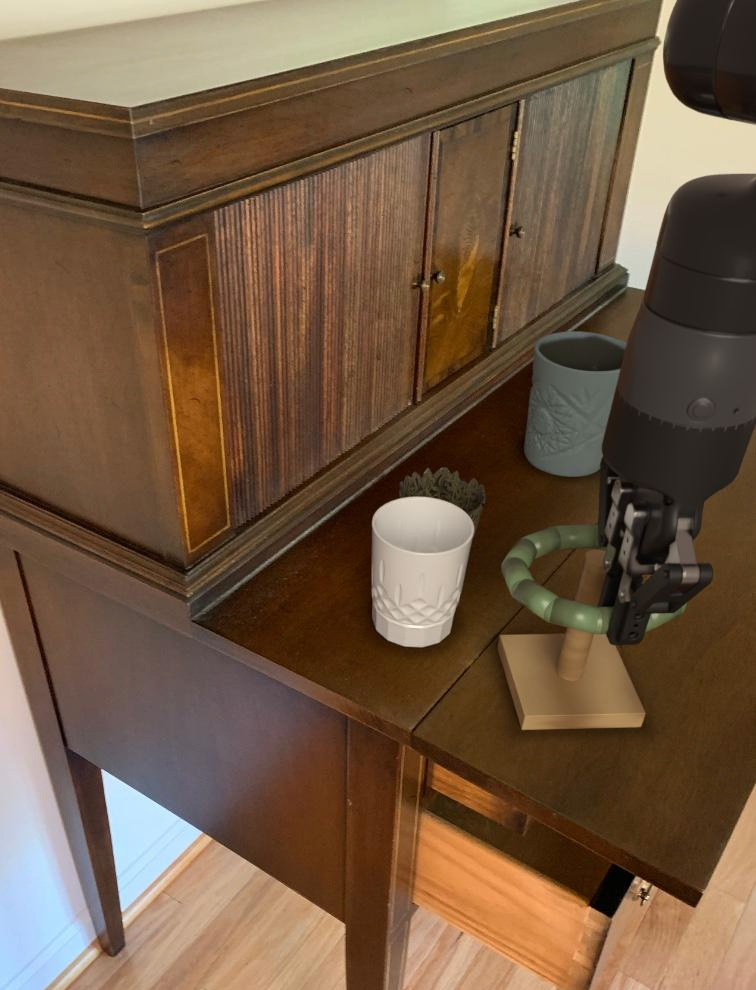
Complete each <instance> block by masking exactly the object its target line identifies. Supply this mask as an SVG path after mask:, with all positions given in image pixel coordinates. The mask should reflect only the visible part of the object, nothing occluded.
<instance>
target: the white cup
mask: <svg viewBox="0 0 756 990" xmlns="http://www.w3.org/2000/svg"><path fill="white" fill-rule="evenodd" d="M371 519H372V520H371V557H370V559H371V562H370V564H371V565H370V568H371V569H370V575H371V585H370V586H371V587H370V589H371V598H372V600H371V601H372V604H371V619H372V622H373V625H374V628H375V631H376V632H377V633H379V635H380V636H382V637H383V638H384V639H386V640H387V641H388V642H391V643H394V644H396V645H399V646H402V647H405V648H406V647H407V648H426V647H430V646H434V645H436V644H439V643H441V642H442V641H443V640H444V639H445V638H447V637H448V636H449V635H450V634H451V630H452V627H453V623H454V620H455V614H456V613H455V612H456V609H457V607H458V605H459V603H460V597H461V594H462V591H463V586H464V581H465V577H466V571H467V567H468V562H469V558H470V553H471V548H472V543H473V540H474V538H473V535H474V524H473V521H472V519H471V518H470V517H469V515H468V514H467V513H466V512H465V511H463V510H462V509H461V508H459V507H458V506H456V505H454V504H452V503H449V502H447V501H444V500H440V499H436V498H430V497H405V498H400V499H399V498H396V499H393V500H391V501H387V502H386V503H384V504H382V505H381V506H380V507H379V508H378V509H377V510H376V511H375V512H374V513H373V516H372V518H371ZM474 536H475V535H474ZM472 539H473V540H472Z"/></svg>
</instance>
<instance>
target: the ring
mask: <svg viewBox="0 0 756 990" xmlns="http://www.w3.org/2000/svg"><path fill="white" fill-rule="evenodd" d="M597 536H598V524H594V523H593V524H589V523H588V524H570V525H568V524H565V525H551V526H548V527H546V528H543V529H541V530H538V531H535V532H533V533H530V534H528V535H525V536H523V537H520V538H518V539H517V540H516V541H515V542H514V544H513V546H512V547H511V548H510V550H509V552H508V553H507V554H506V556H505V558H504V559H503V560H502V562H501V566H500V570H501V574H502V576H503V578H504V581H505V583H506V586H507V589H508V591H509V594H510V596H511V597H512V599H513V600H514V601H515V602H517V603H518V604H519V605H521V606H523V607H524V608H526V609H527V610H528V611H530V612H532V613H533V614H535V615H536V616H538V617H539V618H541V619H542V620H544V621H545V622H547V623H550V624H552V625H553V624H554V625H557V626H560V627H564V628H567V627H568V628H572V629H576V630H580V631H584V632H588V633H592V634H606V633H607V630H608V626H609V621H610V618H611V614H612V611H613V607H614V606H610V607H597V606H593V605H589V604H585V603H581V602H577V601H574V600H573V599H572V600H571V599H568V598H563V597H560V596H558V595H557V594H555V593H554V592H552V591H550V590H549V589H547V588H546V587H544V586H543V585H541V584H539V583H538V582H536V581H535V580H534V578H533V575H532V573H531V571H530V569H529V568H530V567H531V565H532V564H533V562H534V561H535V559H537V558H540V557H544V556H545V555H548V554H550V553H553V552H555V551H560V550H561V551H562V550H563V551H564V550H583V549H584V550H585V549H586V550H587V549H591V550H593V549H599V550H604V551H606V548H600V547H599V545H598V541H597ZM687 605H688V602H687V603H686V604H685V605H684V606H682V607H681V608H680V609H679V610H677V611H676V612H675V613H660V614H651V615H650V619H649V622H648V625H647V628H646V631H645V633H647V632H650V631H652V630H653V629H656V628H659V627H660V626H662V625H664V624H666V623H668V622H670V621H672V620H674V619H676V618H679V617H680V616H681V615H683V614H684V612H685V610H686V608H687Z"/></svg>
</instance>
